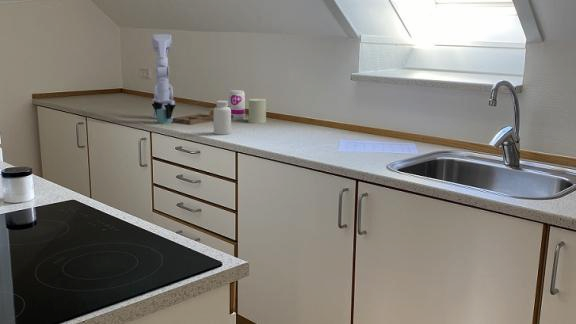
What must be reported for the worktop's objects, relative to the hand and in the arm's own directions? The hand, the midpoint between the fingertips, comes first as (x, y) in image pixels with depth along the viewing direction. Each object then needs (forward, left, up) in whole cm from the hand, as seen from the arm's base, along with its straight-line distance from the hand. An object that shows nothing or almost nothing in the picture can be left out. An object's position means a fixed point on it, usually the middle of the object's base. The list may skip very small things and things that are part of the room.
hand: (163, 117), depth 308 cm
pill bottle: (+43, -2, -3) cm, 43 cm away
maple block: (+7, +28, 0) cm, 28 cm away
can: (+33, +34, -3) cm, 47 cm away
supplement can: (+19, +34, -3) cm, 39 cm away
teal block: (0, 0, -3) cm, 3 cm away
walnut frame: (+7, +15, -3) cm, 17 cm away
